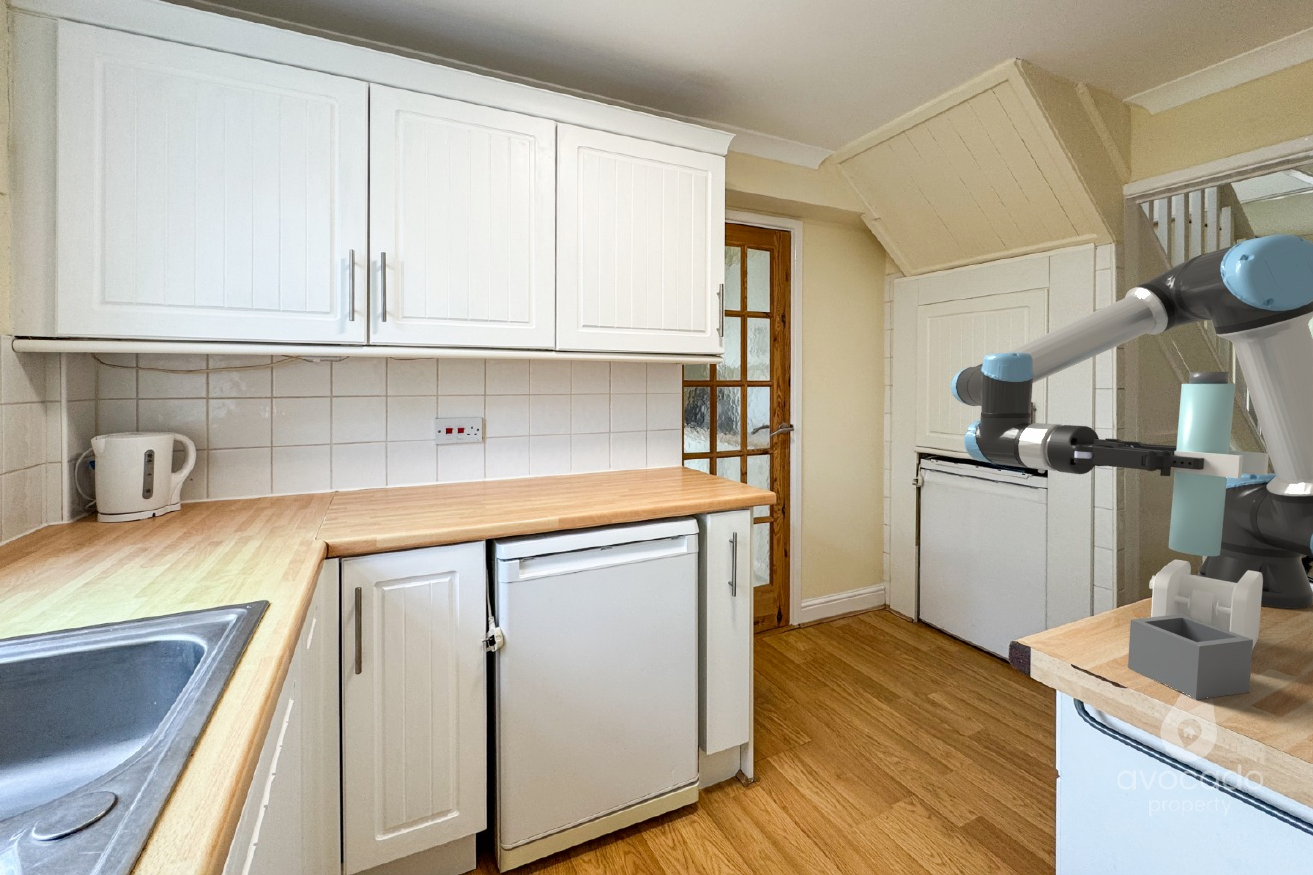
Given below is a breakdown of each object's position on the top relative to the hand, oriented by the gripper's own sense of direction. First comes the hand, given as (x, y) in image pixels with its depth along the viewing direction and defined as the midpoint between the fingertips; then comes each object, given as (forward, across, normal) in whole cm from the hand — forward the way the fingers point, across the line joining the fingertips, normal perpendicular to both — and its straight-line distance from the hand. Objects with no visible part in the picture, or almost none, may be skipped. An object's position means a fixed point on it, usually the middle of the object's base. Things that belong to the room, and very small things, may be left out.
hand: (1253, 465), depth 70 cm
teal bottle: (-5, 0, -12) cm, 13 cm away
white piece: (-10, -14, -30) cm, 35 cm away
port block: (-5, 0, -30) cm, 30 cm away
